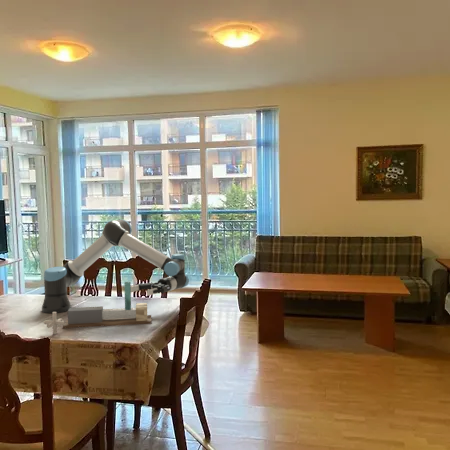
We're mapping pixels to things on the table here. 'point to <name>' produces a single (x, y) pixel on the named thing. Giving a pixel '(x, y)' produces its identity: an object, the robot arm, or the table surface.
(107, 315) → the bar with teal cylinder
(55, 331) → the pipe connector
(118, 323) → the base board
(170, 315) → the table surface
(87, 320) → the outer sleeve
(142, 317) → the socket block
